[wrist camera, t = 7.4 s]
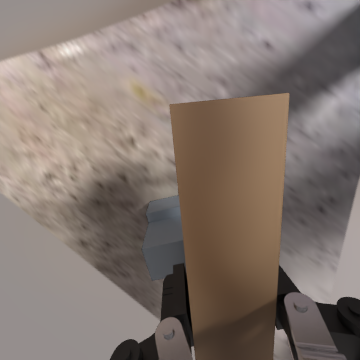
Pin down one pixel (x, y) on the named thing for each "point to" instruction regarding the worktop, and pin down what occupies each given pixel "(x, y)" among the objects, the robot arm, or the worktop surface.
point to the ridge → (163, 237)
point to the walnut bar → (231, 219)
